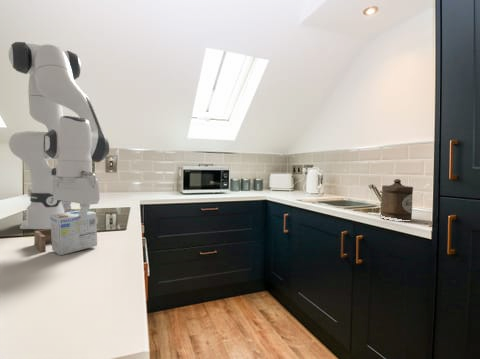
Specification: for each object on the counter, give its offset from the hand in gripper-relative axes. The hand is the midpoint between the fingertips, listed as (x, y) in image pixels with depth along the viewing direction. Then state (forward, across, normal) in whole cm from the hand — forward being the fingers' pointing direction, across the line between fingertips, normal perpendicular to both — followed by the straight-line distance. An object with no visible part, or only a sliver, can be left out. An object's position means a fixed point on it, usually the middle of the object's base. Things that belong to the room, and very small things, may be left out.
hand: (75, 217), depth 83 cm
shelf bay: (+10, +9, -2) cm, 14 cm away
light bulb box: (+10, +1, 0) cm, 10 cm away
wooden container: (+10, -77, -130) cm, 151 cm away
